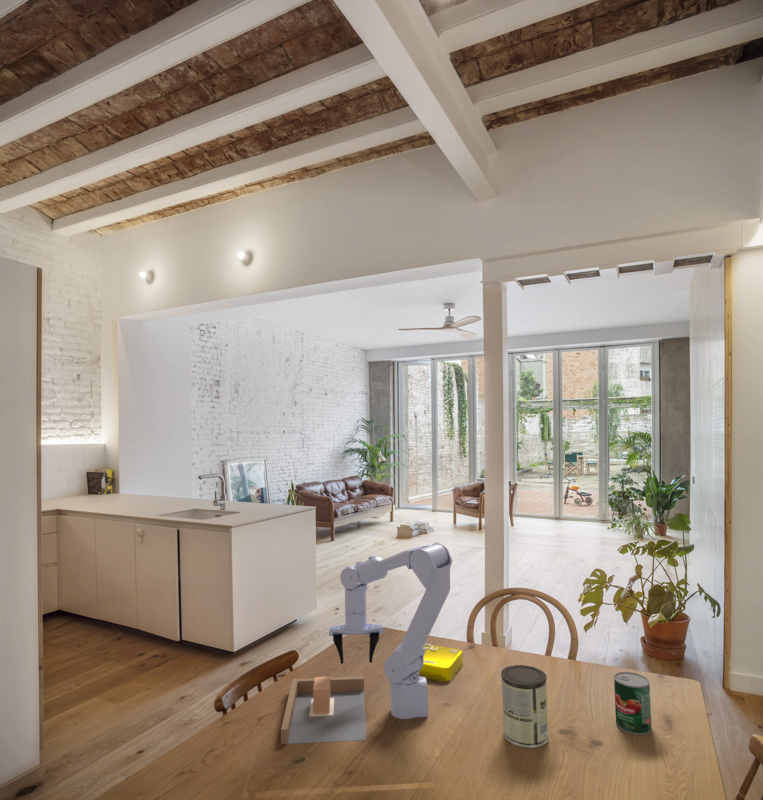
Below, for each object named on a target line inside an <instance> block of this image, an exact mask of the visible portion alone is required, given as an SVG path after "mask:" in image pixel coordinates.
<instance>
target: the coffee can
mask: <svg viewBox="0 0 763 800" xmlns="http://www.w3.org/2000/svg"><path fill="white" fill-rule="evenodd" d="M500 672H501V673H500V674H501V675H500V676H501V689H502V690H501V691H502V718H503V719H502V720H503V737H504V738H505V740H506V741H508V742H509V744H512V745H514V746H517V747H520V748H524V749H525V748H526V749H536V748H540V747H543V746H545V745H546V744H547V743H548V742H549V729H548V727H549V725H548V708H547V707H548V705H547V704H548V701H547V700H548V699H547V698H548V697H547V675H546V673H545V672H544V671H543V670H542V669H539V668H537V667H534V666H531V665H525V664H524V665H523V664H516V665H509V666H506V667H504V668H503V669H502V670H501V671H500Z"/></svg>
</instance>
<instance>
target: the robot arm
mask: <svg viewBox="0 0 763 800" xmlns="http://www.w3.org/2000/svg"><path fill="white" fill-rule="evenodd" d="M452 564H453V559H452V556H451V554H450V552H449V549H448V547H447V546H445V544H443V543H440V542H435V543H433V544H430V545H429V544H426V545H421V546H416V547H412V548H409V549H406V550H405V549H404V551H401V552H398V553H396V554H394V555H391V556H388V557H387V558H383V557H381V556H376V555H371V556H368V558H367V559H366V560H364V561H362V560H359V561H357V562H355V564H354V565H351V566H346V567H345V568H343V569H342V570H341V572H340V576H339V577H340V579H339V580H340V583H341V585H342V586H343V587H344V609H345V610H344V611H345V612H344V613H345V614H344V615H345V616H344V617H345V619H344V620H345V621H344V623H345V624H341V625H340V624H339V625H334V626H328V636H329V637H332V641H333V643H334V646H335V647H336V650H337V652H338V656H339V661H340V665H343V664H344V649H343V645H344V644H343V636H352V635H355V636H356V635H369V650H368V652H369V653H368V657H369V658H368V660H369V661H368V662H369V663H370V664H372V663H373V658H374V652H375V649H376V646H377V644H378V643H379V641H380V635H384V627H383V624H373V623H367V590H368V584H370V583H373V582H376V581H379V580H382V579H385V578H386V577H387V575H388V573H389V571H392V570H395V569H398V568H401V567H404V566H406V567H407V569H408V570H412V571H413V573H414V574H415V576H416V577H417V579H418V580H419V582H420V583H421V585H422V586H423V588H424V589H425V591H424V593H423V595H422V597H421V600H420V602H419V604H418V606H417V608H416V611H415V613H414V615H413V618H412V619H411V622H410V623H409V626H408V629H407V631H406V633H405V635H404V636H403V639H402V641H401V642H400V643H399V645H397V646H396V647H395V649H394V650H393V651H392V654H391V655H390V656H388V657H387V658H386V659H385V661H384V663H383V670H384V674H385V676H386V677H387V679H388V681H389V685H390V686H389V687H390V688H389V691H390V693H389V694H390V696H389V697H390V715H391V716H393V717H394V718H397V719H400V720H408V719H409V720H411V719H414V718H428V717H429V697H428V695H429V693H428V691H429V689H428V682H427V679H426V677H420V676H419V670H420V669H421V668H422V666H423V663H424V654H425V651H426V650H425V648H424V644H426V642H427V641H428V638H429V635H430V634H431V632H432V629H433V627H434V625H435V624H436V621H437V619H438V617H439V614H441V613H440V612H441V610H442V609H443V607H444V604H445V602H446V600H447V598H448V595H449V593H450V590H451V566H452Z"/></svg>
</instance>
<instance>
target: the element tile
mask: <svg viewBox="0 0 763 800" xmlns="http://www.w3.org/2000/svg"><path fill="white" fill-rule="evenodd" d="M424 648H425V650H426V651H425V654H424V663H423V666H422V668H421V669H420V670H419V676H420V677H426V678H428V679H427V680H431V679H433V680H432V681H436V680H438V682H441V681H442V683H446V682H447V683H448V682H450V681H452V680H453V678H454V677H455V676H456V674H457V673H458V672H459V670H460V669H461V668H462V666H464V654H463V651H462V649H459V648H453V647H447V646H442V645H436V644H429V643H425V644H424Z"/></svg>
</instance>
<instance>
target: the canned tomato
mask: <svg viewBox="0 0 763 800" xmlns="http://www.w3.org/2000/svg"><path fill="white" fill-rule="evenodd" d="M650 682H651V681H650V679H648V677H646V676H644V675H641V674H639V673H636V672H630V671H619V672H616V673H615V674H613V685H614V686H613V687H614V689H613V690H614V706H615V707H614V708H615V711H614V712H615V725H616V727H618V728H619V729H620V730H621V731H623V732H626V733H628V734H631V735H636V736H638V735H639V736H644V735H648V734H650V733H652V730H653V729H652V709H651V707H652V705H651V689H650Z"/></svg>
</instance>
